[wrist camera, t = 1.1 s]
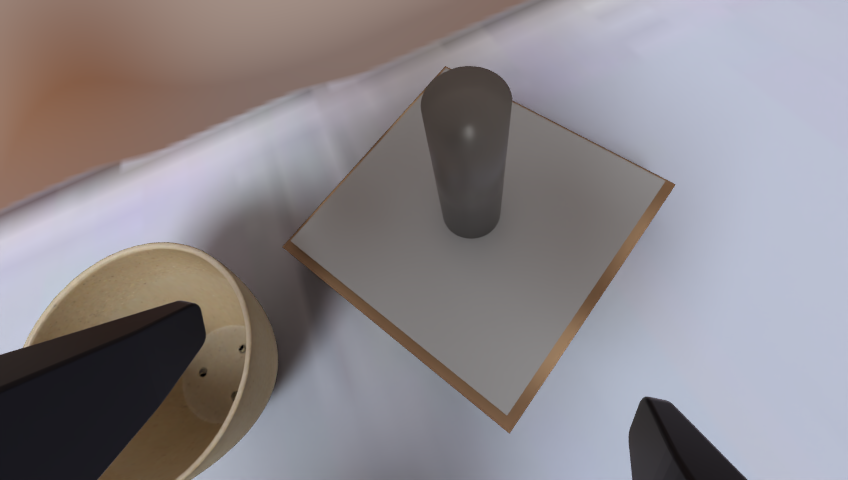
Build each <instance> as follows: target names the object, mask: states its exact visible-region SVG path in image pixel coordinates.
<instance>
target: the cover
mask: <svg viewBox="0 0 848 480" xmlns="http://www.w3.org/2000/svg"><path fill="white" fill-rule="evenodd" d="M664 183H665V180H663V179H661V178H659V177H657V176H655V175H653V174H651V173H649V172H647V171H646V170H644V169H642V168H640V167H638V166H636V165H634V164H632V163H630V162H628V161H626V160H624V159H622V158H620V157H618V156H616V155H614V154H613V153H611V152H609V151H607V150H605V149H603V148H601V147H599V146H597V145H595V144H593V143H591V142H589V141H587V140H585V139H583V138H581V137H579V136H578V135H576V134H574V133H572V132H570V131H568V130H566V129H564V128H562V127H560V126H558V125H556V124H554V123H552V122H550V121H548V120H546V119H545V118H543V117H541V116H539V115H537V114H535V113H533V112H531V111H529V110H527V109H525V108H523V107H521V106H519V105H517V104H515V103H513V102H512V95H511V92H510V89H509V87H508V85H507V84H506V82H505V81H504V80H503V79H502V78H501V77H500V76H499V75H497V74H496V73H494V72H492V71H490V70H488V69H484V68H481V67H473V66H465V67H458V68H454V69H451V70H449V69H447V68H445V70H444V71H443V72H442V73H441V74H440V75H439V76H437V77H436V78H435V79H434V80H433V81H432V82H430V84H429V85H428V86H427V88H426V89H425V91H424V93H423V94H422V95H421V96H420V97H419V98H418V100H417V101H416V102H415V103H414V104H413V105H412V106H411V107H410V108H409V110H408V111H407V112H406V113H405V114H404V115H403V116H402V117H401V118H400V120H399V121H398V122H397V123H396V124H395V125H394V126H393V127H392V128H391V130H390V131H389V132H388V133H387V134H386V135H385V136H384V137H383V138H382V140H381V141H380V142H379V143H378V144H377V145H376V146H375V147H374V148H373V150H372V151H371V152H370V153H369V154H368V155H367V156H366V157H365V158H364V160H363V161H362V162H361V163H360V164H359V165H358V166H357V167H356V168H355V170H354V171H353V172H352V173H351V174H350V175H349V176H348V177H347V178H346V179H345V181H344V182H343V183H342V184H341V185H340V186H339V187H338V188H337V189H336V191H335V192H334V193H333V194H332V195H331V196H330V197H329V198H328V199H327V201H326V202H325V203H324V204H323V205H322V206H321V207H320V208H319V209H318V211H317V212H316V213H315V214H314V215H313V216H312V217H311V218H310V219H309V221H308V222H307V223H306V224H305V225H304V226H303V227H302V228H301V229H300V231H299V232H298V233H297V234H296V235H295V236H294V237H293V238H292V239H291V242H292V243H294V244H295V245H296V246H297V247H299V248H300V249H301V250H302V251H303V252H305V253H306V254H307V255H308V256H310V257H311V258H312V259H313V260H315V261H316V262H317V263H318V264H320V265H321V266H322V267H323V268H325V269H326V270H327V271H328V272H330V273H331V274H332V275H333V276H334V277H336V278H337V279H338V280H339V281H341V282H342V283H343V284H344V285H346V286H347V287H348V288H349V289H351V290H352V291H353V292H354V293H356V294H357V295H358V296H359V297H361V298H362V299H363V300H364V301H365V302H367V303H368V304H369V305H370V306H372V307H373V308H374V309H375V310H377V311H378V312H379V313H380V314H382V315H383V316H384V317H385V318H387V319H388V320H389V321H390V322H392V323H393V324H394V325H395V326H396V327H398V328H399V329H400V330H401V331H403V332H404V333H405V334H406V335H408V336H409V337H410V338H411V339H413V340H414V341H415V342H416V343H418V344H419V345H420V346H421V347H423V348H424V349H425V350H426V351H427V352H429V353H430V354H431V355H432V356H434V357H435V358H436V359H437V360H439V361H440V362H441V363H442V364H444V365H445V366H446V367H447V368H449V369H450V370H451V371H452V372H454V373H455V374H456V375H457V376H458V377H460V378H461V379H462V380H463V381H465V382H466V383H467V384H468V385H470V386H471V387H472V388H473V389H475V390H476V391H477V392H478V393H480V394H481V395H482V396H483V397H485V398H486V399H487V400H488V401H489V402H491V403H492V404H493V405H494V406H496V407H497V408H498V409H499V410H501V411H502V412H503V413H504V414H506V415H508V413H509V412H510V410H511V409H512V407H513V406H514V405H515V403H516V402H517V400H518V399H519V397H520V396H521V394H522V393H523V391H524V390H525V388H526V387H527V385H528V384H529V382H530V381H531V379H532V378H533V376H534V375H535V373H536V372H537V371H538V369H539V368H540V366H541V365H542V363H543V362H544V360H545V359H546V357H547V356H548V354H549V353H550V351H551V350H552V348H553V347H554V345H555V344H556V342H557V341H558V339H559V338H560V336H561V335H562V334H563V332H564V331H565V329H566V328H567V326H568V325H569V323H570V322H571V320H572V319H573V317H574V316H575V314H576V313H577V311H578V310H579V308H580V307H581V305H582V304H583V302H584V301H585V299H586V298H587V297H588V295H589V294H590V292H591V291H592V289H593V288H594V286H595V285H596V283H597V282H598V280H599V279H600V277H601V276H602V274H603V273H604V271H605V270H606V268H607V267H608V265H609V264H610V262H611V261H612V260H613V258H614V257H615V255H616V254H617V252H618V251H619V249H620V248H621V246H622V245H623V243H624V242H625V240H626V239H627V237H628V236H629V234H630V233H631V231H632V230H633V228H634V227H635V225H636V224H637V223H638V221H639V220H640V218H641V217H642V215H643V214H644V212H645V211H646V209H647V208H648V206H649V205H650V203H651V202H652V200H653V199H654V197H655V196H656V194H657V193H658V191H659V190H660V188H661V187H662V186H663V184H664Z"/></svg>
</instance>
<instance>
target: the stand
mask: <svg viewBox="0 0 848 480" xmlns="http://www.w3.org/2000/svg"><path fill="white" fill-rule="evenodd" d="M445 68H447V69H449V70H451V69H450V68H448V67H446V66H445V67H444V68H443V69H442V70H441V72H440V73H439V74H438V75H437V76H439V75H440V74H441V73H442V72H443V71H444V70H445ZM437 76H436V77H437ZM436 77H435V78H436ZM435 78H434V79H435ZM434 79H433V80H434ZM433 80H432V81H433ZM432 81H431V82H432ZM426 88H427V87H426ZM426 88H425V89H426ZM425 89H424V90H423V91H422V93H421V94H420V95H419V96H418V97H417V98H416V99H415V100H414V101H413V103H412V104H411V105H410V106H409V107H408V108H407V109H406V110H405V111H404V113H403V114H402V115H401V116H400V117H399V118H398V119H397V120H396V121H395V123H394V124H393V125H392V126H391V127H390V128H389V129H388V130H387V131H386V132H385V134H384V135H383V136H382V137H381V138H380V139H379V140H378V141H377V142H376V144H375V145H374V146H373V147H372V148H371V149H370V150H369V151H368V152H367V154H366V155H365V156H364V157H363V158H362V159H361V160H360V161H359V162H358V164H357V165H356V166H355V167H354V168H353V169H352V170H351V171H350V172H349V174H348V175H347V176H346V177H345V178H344V179H343V180H342V181H341V182H340V183H339V185H338V186H337V187H336V188H335V189H334V190H333V191H332V192H331V193H330V195H329V196H328V197H327V198H326V199H325V200H324V201H323V202H322V203H321V205H320V206H319V207H318V208H317V209H316V210H315V211H314V212H313V213H312V215H311V216H310V217H309V218H308V219H307V220H306V221H305V222H304V223H303V225H302V226H301V227H300V228H299V229H298V230H297V231H296V232H295V233H294V234H293V236H292V237H291V238H290V239H289V240H288V241H287V242H286V243H285V244H284V246H283V248H284V249H285V250H287V251H288V252H289V253H290V254H291V255H293V256H294V257H295V258H296V259H297V260H299V261H300V262H301V263H302V264H304V265H305V266H306V267H307V268H308V269H310V270H311V271H312V272H313V273H315V274H316V275H317V276H318V277H319V278H321V279H322V280H323V281H324V282H325V283H327V284H328V285H329V286H330V287H332V288H333V289H334V290H335V291H336V292H338V293H339V294H340V295H341V296H343V297H344V298H345V299H346V300H347V301H349V302H350V303H351V304H352V305H354V306H355V307H356V308H357V309H358V310H360V311H361V312H362V313H363V314H364V315H366V316H367V317H368V318H369V319H371V320H372V321H373V322H374V323H375V324H377V325H378V326H379V327H380V328H382V329H383V330H384V331H385V332H386V333H388V334H389V335H390V336H391V337H392V338H394V339H395V340H396V341H397V342H399V343H400V344H401V345H402V346H403V347H405V348H406V349H407V350H408V351H410V352H411V353H412V354H413V355H414V356H416V357H417V358H418V359H419V360H420V361H422V362H423V363H424V364H425V365H427V366H428V367H429V368H430V369H431V370H433V371H434V372H435V373H436V374H438V375H439V376H440V377H441V378H442V379H444V380H445V381H446V382H447V383H449V384H450V385H451V386H452V387H453V388H455V389H456V390H457V391H458V392H459V393H461V394H462V395H463V396H464V397H466V398H467V399H468V400H469V401H470V402H472V403H473V404H474V405H475V406H477V407H478V408H479V409H480V410H481V411H483V412H484V413H485V414H486V415H487V416H489V417H490V418H491V419H492V420H494V421H495V422H496V423H497V424H498V425H500V426H501V427H502V428H503V429H505V430H506V431H507V432H508V433H509V434H510V432H511V431H512V429H513V428H514V426H515V425H516V423H517V422H518V420H519V419H520V417H521V416H522V414H523V413H524V411H525V410H526V408H527V407H528V405H529V404H530V402H531V401H532V399H533V398H534V396H535V395H536V393H537V392H538V390H539V389H540V387H541V386H542V384H543V383H544V381H545V380H546V378H547V377H548V375H549V374H550V372H551V371H552V369H553V368H554V366H555V365H556V363H557V362H558V360H559V359H560V357H561V356H562V354H563V353H564V351H565V350H566V348H567V347H568V345H569V344H570V342H571V341H572V339H573V338H574V336H575V335H576V333H577V332H578V330H579V329H580V327H581V326H582V324H583V323H584V321H585V320H586V318H587V317H588V315H589V314H590V312H591V311H592V309H593V308H594V306H595V305H596V303H597V302H598V300H599V299H600V297H601V296H602V294H603V293H604V291H605V290H606V288H607V287H608V285H609V284H610V282H611V281H612V279H613V278H614V276H615V275H616V273H617V272H618V270H619V269H620V267H621V266H622V264H623V263H624V261H625V260H626V258H627V257H628V255H629V254H630V252H631V251H632V249H633V248H634V246H635V245H636V243H637V242H638V240H639V239H640V237H641V236H642V234H643V233H644V231H645V230H646V228H647V227H648V225H649V224H650V222H651V221H652V219H653V218H654V216H655V215H656V213H657V212H658V210H659V209H660V207H661V206H662V204H663V203H664V201H665V200H666V198H667V197H668V195H669V194H670V192H671V191H672V189H673V188H674V186H675V184H673V183H672V182H670V181H668V180H666V179H664V178H662V177H660V176H658V175H656V174H654V173H652V172H650V171H648V170H646V169H644V168H642V167H640V166H638V165H637V164H635V163H633V162H631V161H629V160H627V159H625V158H623V157H621V156H619V155H617V154H615V153H613V152H611V151H609V150H607V149H605V148H603V147H601V146H600V145H598V144H596V143H594V142H592V141H590V140H588V139H586V138H584V137H582V136H580V135H578V134H576V133H574V132H572V131H570V130H568V129H566V128H565V127H563V126H561V125H559V124H557V123H555V122H553V121H551V120H549V119H547V118H545V117H543V116H541V115H539V114H537V113H535V112H533V111H531V110H529V109H528V108H526V107H524V106H522V105H520V104H518V103H516V102H514V101H512V102H513V103H515V104H517V105H519V106H521V107H523V108H525V109H527V110H529V111H531V112H533V113H535V114H537V115H539V116H541V117H543V118H545V119H546V120H548V121H550V122H552V123H554V124H556V125H558V126H560V127H562V128H564V129H566V130H568V131H570V132H572V133H574V134H576V135H578V136H579V137H581V138H583V139H585V140H587V141H589V142H591V143H593V144H595V145H597V146H599V147H601V148H603V149H605V150H607V151H609V152H611V153H613V154H614V155H616V156H618V157H620V158H622V159H624V160H626V161H628V162H630V163H632V164H634V165H636V166H638V167H640V168H642V169H644V170H646V171H647V172H649V173H651V174H653V175H655V176H657V177H659V178H661V179H663V180H665V183H664V184H663V186H662V187H661V188H660V190H659V191H658V193H657V194H656V196H655V197H654V199H653V200H652V202H651V203H650V205H649V206H648V208H647V209H646V211H645V212H644V214H643V215H642V217H641V218H640V220H639V221H638V223H637V224H636V225H635V227H634V228H633V230H632V231H631V233H630V234H629V236H628V237H627V239H626V240H625V242H624V243H623V245H622V246H621V248H620V249H619V251H618V252H617V254H616V255H615V257H614V258H613V260H612V261H611V262H610V264H609V265H608V267H607V268H606V270H605V271H604V273H603V274H602V276H601V277H600V279H599V280H598V282H597V283H596V285H595V286H594V288H593V289H592V291H591V292H590V294H589V295H588V297H587V298H586V299H585V301H584V302H583V304H582V305H581V307H580V308H579V310H578V311H577V313H576V314H575V316H574V317H573V319H572V320H571V322H570V323H569V325H568V326H567V328H566V329H565V331H564V332H563V334H562V335H561V336H560V338H559V339H558V341H557V342H556V344H555V345H554V347H553V348H552V350H551V351H550V353H549V354H548V356H547V357H546V359H545V360H544V362H543V363H542V365H541V366H540V368H539V369H538V371H537V372H536V373H535V375H534V376H533V378H532V379H531V381H530V382H529V384H528V385H527V387H526V388H525V390H524V391H523V393H522V394H521V396H520V397H519V399H518V400H517V402H516V403H515V405H514V406H513V407H512V409H511V410H510V412H509V413H508V415H506V414H504V413H503V412H502V411H501V410H499V409H498V408H497V407H496V406H494V405H493V404H492V403H491V402H489V401H488V400H487V399H486V398H485V397H483V396H482V395H481V394H480V393H478V392H477V391H476V390H475V389H473V388H472V387H471V386H470V385H468V384H467V383H466V382H465V381H463V380H462V379H461V378H460V377H458V376H457V375H456V374H455V373H454V372H452V371H451V370H450V369H449V368H447V367H446V366H445V365H444V364H442V363H441V362H440V361H439V360H437V359H436V358H435V357H434V356H432V355H431V354H430V353H429V352H427V351H426V350H425V349H424V348H423V347H421V346H420V345H419V344H418V343H416V342H415V341H414V340H413V339H411V338H410V337H409V336H408V335H406V334H405V333H404V332H403V331H401V330H400V329H399V328H398V327H396V326H395V325H394V324H393V323H392V322H390V321H389V320H388V319H387V318H385V317H384V316H383V315H382V314H380V313H379V312H378V311H377V310H375V309H374V308H373V307H372V306H370V305H369V304H368V303H367V302H365V301H364V300H363V299H362V298H361V297H359V296H358V295H357V294H356V293H354V292H353V291H352V290H351V289H349V288H348V287H347V286H346V285H344V284H343V283H342V282H341V281H339V280H338V279H337V278H336V277H334V276H333V275H332V274H331V273H330V272H328V271H327V270H326V269H325V268H323V267H322V266H321V265H320V264H318V263H317V262H316V261H315V260H313V259H312V258H311V257H310V256H308V255H307V254H306V253H305V252H303V251H302V250H301V249H300V248H299V247H297V246H296V245H295V244H294V243H292V242H291V239H292V238H293V237H294V236H295V235H296V234H297V233H298V232H299V231H300V229H301V228H302V227H303V226H304V225H305V224H306V223H307V222H308V221H309V219H310V218H311V217H312V216H313V215H314V214H315V213H316V212H317V211H318V209H319V208H320V207H321V206H322V205H323V204H324V203H325V202H326V201H327V199H328V198H329V197H330V196H331V195H332V194H333V193H334V192H335V191H336V189H337V188H338V187H339V186H340V185H341V184H342V183H343V182H344V181H345V179H346V178H347V177H348V176H349V175H350V174H351V173H352V172H353V171H354V170H355V168H356V167H357V166H358V165H359V164H360V163H361V162H362V161H363V160H364V158H365V157H366V156H367V155H368V154H369V153H370V152H371V151H372V150H373V148H374V147H375V146H376V145H377V144H378V143H379V142H380V141H381V140H382V138H383V137H384V136H385V135H386V134H387V133H388V132H389V131H390V130H391V128H392V127H393V126H394V125H395V124H396V123H397V122H398V121H399V120H400V118H401V117H402V116H403V115H404V114H405V113H406V112H407V111H408V110H409V108H410V107H411V106H412V105H413V104H414V103H415V102H416V101H417V100H418V98H419V97H420V96H421V95H422V94H423V93H424V91H425Z"/></svg>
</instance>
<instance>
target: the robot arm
mask: <svg viewBox="0 0 848 480" xmlns="http://www.w3.org/2000/svg"><path fill="white" fill-rule="evenodd" d="M205 340H206V330H205V325H204V321H203V316H202V311H201V308H200V306H199V305H198V304H196V303H192V302H187V301H181V300H180V301H175V302H172V303H168V304H165V305H162V306H159V307H155V308H152V309H149V310H146V311H142V312H139V313H136V314H132V315H129V316H126V317H123V318H119V319H116V320H113V321H110V322H106V323H103V324H100V325H97V326H93V327H90V328H87V329H83V330H80V331H77V332H74V333H70V334H67V335H64V336H61V337H57V338H54V339H51V340H48V341H44V342H41V343H38V344H34V345H31V346H28V347H25V348H21V349H18V350H15V351H12V352H8V353H5V354H2V355H0V480H98V479H99V478H100V477H101V475H102V474H103V473H104V472H105V471H106V469H107V468H108V467H109V466H110V465H111V464H112V462H113V461H114V460H115V459H116V458H117V456H118V455H119V454H120V453H121V452H122V451H123V449H124V448H125V447H126V446H127V445H128V443H129V442H130V441H131V440H132V439H133V438H134V436H135V435H136V434H137V433H138V432H139V430H140V429H141V428H142V427H143V426H144V425H145V423H146V422H147V421H148V420H149V419H150V417H151V416H152V415H153V414H154V413H155V411H156V410H157V409H158V408H159V406H160V405H161V404H162V402H163V401H164V400H165V398H166V397H167V396H168V394H169V393H170V391H171V390H172V389H173V387H174V386H175V384H176V383H177V382H178V380H179V379H180V377H181V376H182V375H183V373H184V372H185V370H186V369H187V367H188V366H189V365H190V363H191V362H192V360H193V359H194V358H195V356H196V355H197V353H198V352H199V351H200V349H201V348H202V346H203V345H204V342H205ZM629 450H630V460H631V470H632V480H747V479H746V478H745V477H744V476H743V475H742V474H741V473H740V472H739V471H738V470H737V469H736V468H735V467H734V466H733V465H732V464H731V463H730V462H729V461H728V460H727V459H726V458H725V457H724V456H723V455H722V454H721V452H720V451H719V450H718V449H717V448H716V447H715V446H714V445H713V444H712V443H711V442H710V441H709V440H708V439H707V438H706V437H705V436H704V435H703V434H702V433H701V432H700V431H699V430H698V429H697V428H696V427H695V426H694V425H693V424H692V423H691V422H690V421H689V420H688V419H687V418H686V417H685V416H684V415H683V414H682V413H681V412H680V411H679V410H678V409H677V408H676V407H675V406H674V405H673V404H672V403H670V402H669V401H666V400H662V399H657V398H652V397H644V398H643V399H642V400H641V401H640V403H639V406H638V409H637V411H636V414H635V417H634V419H633V422H632V425H631V427H630V431H629Z"/></svg>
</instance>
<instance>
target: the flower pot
mask: <svg viewBox="0 0 848 480" xmlns="http://www.w3.org/2000/svg"><path fill="white" fill-rule="evenodd" d="M180 300H181V301H187V302H192V303H196V304H198V305H199V306H200V308H201V311H202V316H203V321H204V325H205V330H206V340H205V342H204V345H203V346H202V348H201V349H200V351H199V352H198V353H197V355H196V356H195V358H194V359H193V360H192V362H191V363H190V365H189V366H188V367H187V369H186V370H185V372H184V373H183V375H182V376H181V377H180V379H179V380H178V382H177V383H176V384H175V386H174V387H173V389H172V390H171V391H170V393H169V394H168V396H167V397H166V398H165V400H164V401H163V402H162V404H161V405H160V406H159V408H158V409H157V410H156V411H155V413H154V414H153V415H152V416H151V417H150V419H149V420H148V421H147V422H146V423H145V425H144V426H143V427H142V428H141V429H140V430H139V432H138V433H137V434H136V435H135V436H134V438H133V439H132V440H131V441H130V442H129V443H128V445H127V446H126V447H125V448H124V449H123V451H122V452H121V453H120V454H119V455H118V456H117V458H116V459H115V460H114V461H113V462H112V464H111V465H110V466H109V467H108V468H107V469H106V471H105V472H104V473H103V474H102V475H101V477H100V478H99V479H98V480H191V479H193V478H194V477H196V476H197V475H199V474H200V473H201V472H203V471H204V470H206V469H207V468H209V467H210V466H211V465H213V464H214V463H215V462H216V461H218V460H219V459H220V458H221V457H222V456H224V455H225V454H226V453H227V452H228V451H229V450H230V449H232V448H233V447H234V446H235V445H236V444H237V443H238V442H239V441H240V440H241V439H242V438H243V436H244V435H245V434H246V433H247V432H248V431H249V430H250V428H251V427H252V426H253V425H254V423H255V422H256V421H257V419H258V418H259V416H260V415H261V413H262V412H263V410H264V408H265V406H266V404H267V403H268V401H269V398H270V396H271V394H272V391H273V388H274V385H275V382H276V376H277V370H278V351H277V344H276V339H275V336H274V332H273V329H272V327H271V324H270V322H269V320H268V317H267V315H266V314H265V312H264V310H263V308H262V307H261V305H260V304H259V302H258V300H257V299H256V298H255V296H254V295H253V294H252V293H251V291H250V290H249V289H248V288H247V287H246V285H245V284H244V283H243V282H242V281H241V280H240V279H239V278H238V277H237V276H236V275H235V274H233V273H232V272H231V271H230V270H229V269H228V268H227V267H225V266H224V265H223V264H222V263H220V262H219V261H218V260H216V259H215V258H213V257H212V256H210V255H209V254H207V253H205V252H203V251H201V250H199V249H197V248H194V247H191V246H188V245H183V244H178V243H169V242H163V243H160V242H158V243H148V244H143V245H138V246H134V247H131V248H127V249H124V250H122V251H119V252H117V253H114V254H112V255H110V256H108V257H106V258H104V259H102V260H100V261H99V262H97V263H96V264H94V265H92V266H91V267H89V268H88V269H86V270H85V271H83V272H82V273H81V274H80V275H78V276H77V277H76V278H75V279H73V280H72V281H71V282H70V283H69V284H68V285H67V286H66V287H65V288H64V289H63V290H62V291H61V292H60V293H59V294H58V295H57V296H56V297H55V298H54V299H53V301H52V302H51V303H50V305H49V306H48V307H47V308H46V310H45V311H44V313H43V314H42V315H41V317H40V318H39V320H38V321H37V323H36V324H35V326H34V327H33V329H32V331H31V333H30V334H29V336H28V338H27V340H26V342H25V344H24V346H23V348H25V347H28V346H31V345H34V344H38V343H41V342H44V341H48V340H51V339H54V338H57V337H61V336H64V335H67V334H70V333H74V332H77V331H80V330H83V329H87V328H90V327H93V326H97V325H100V324H103V323H106V322H110V321H113V320H116V319H119V318H123V317H126V316H129V315H132V314H136V313H139V312H142V311H146V310H149V309H152V308H155V307H159V306H162V305H165V304H168V303H172V302H175V301H180ZM242 345H243V346H244V347H243V349H242V350H240V348H241V346H242ZM203 373H206V375H205V376H204V377H202V376H201V375H202V374H203Z"/></svg>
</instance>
